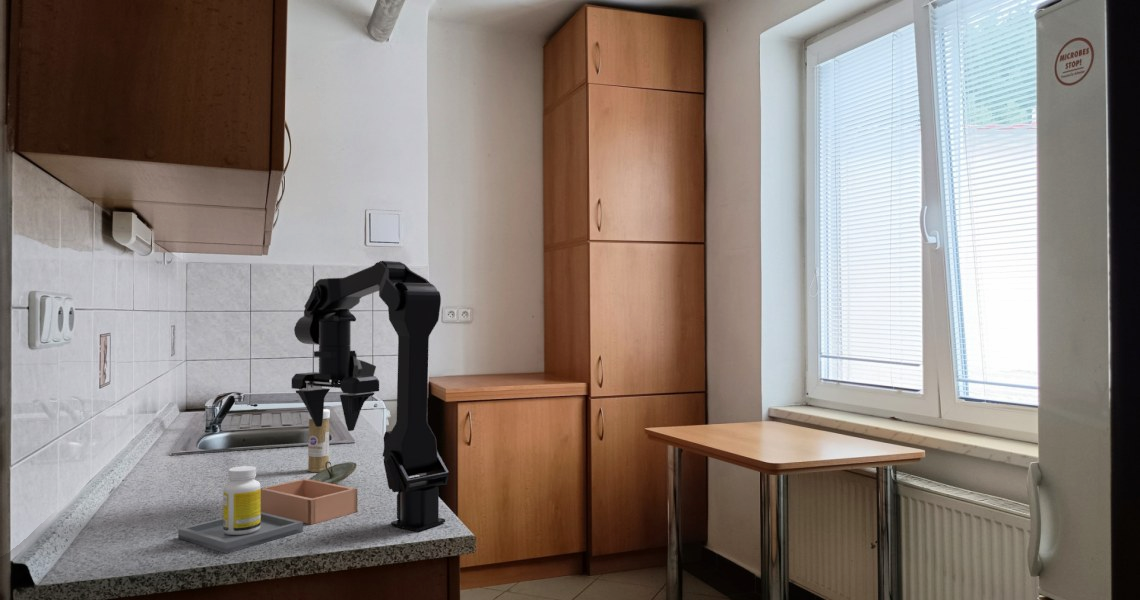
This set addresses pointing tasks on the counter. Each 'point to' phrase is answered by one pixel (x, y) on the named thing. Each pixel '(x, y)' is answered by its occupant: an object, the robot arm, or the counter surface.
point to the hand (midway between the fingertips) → (334, 428)
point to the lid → (335, 472)
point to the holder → (308, 500)
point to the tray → (216, 539)
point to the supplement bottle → (241, 502)
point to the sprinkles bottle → (318, 443)
